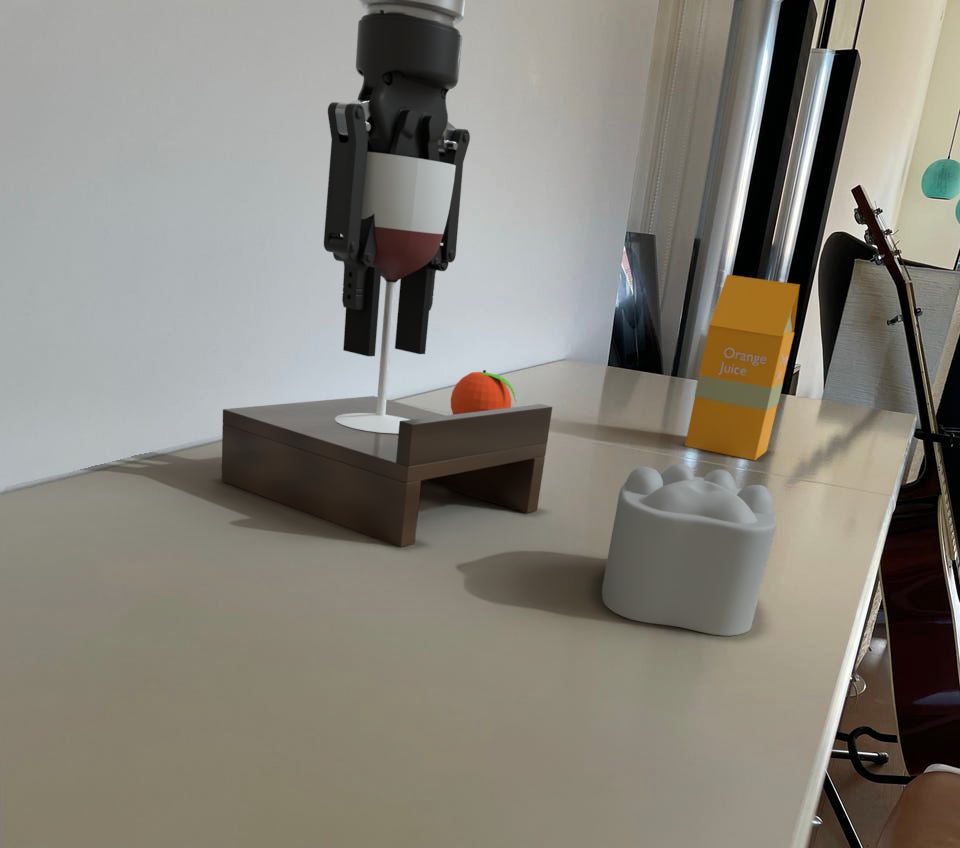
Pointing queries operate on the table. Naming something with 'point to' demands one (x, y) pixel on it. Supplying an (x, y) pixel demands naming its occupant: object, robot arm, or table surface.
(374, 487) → the shelf
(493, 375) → the clementine
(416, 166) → the wineglass
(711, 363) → the orange juice
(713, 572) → the lumpy-topped squat cylinder
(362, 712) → the table surface
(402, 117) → the robot arm
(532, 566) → the table surface
